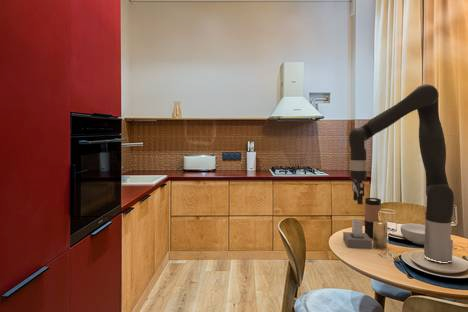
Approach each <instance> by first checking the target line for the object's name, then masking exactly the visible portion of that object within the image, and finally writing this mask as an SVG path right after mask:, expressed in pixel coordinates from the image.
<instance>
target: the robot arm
mask: <svg viewBox="0 0 468 312" xmlns="http://www.w3.org/2000/svg"><path fill="white" fill-rule="evenodd" d="M416 110H417V115H418V120H419V121H418V144H419V150H420V156H421V160H422V164H423V167H424V171H425V195H426V209H425V210H426V211H425V216H424V217H425V220H424V221H425V222H424V225H425V243H424V245H423V247H424V249H423V256H424V255H425V256H426V257H428V258H430V259H433V260H436V261H441V262H448V261H452V262H453V251H454V250H453V249H454V247H453V246H454V245H453V244H454V240H452V237H451V236H452V220H453V219H452V218H453V215H454V203H455V202H454V200H455V197H454V196H455V194H454V192H453V189H451V188H450V185H449V182H448V178H447V174H446V162H447V161H446V160H447V146H446V140H445V139H446V138H445V134H444V130H443V127H442V123H441V120H440V114H439V91H438V89H437V88H436V87H435V86H434V85H432V84H421V85H419V86H418V87H416V88H415V89H414V90H413V91H411V93H409V94H408V95H407V96H406V97H404V98H403V99H401V101H398V102H397V103H396V104H394V105H393V106H391V107H390V108H388V109H386V110H384V111H383V112H381V113H379V114H378V115H376V116H374V117H372V118H371V119H369V120H368V121H367V123H365V124H364V125H361V126H360V127H356V128H355V127H354V128H353V129H352V130H350V132H349V135H348V142H349V148H350V162H349V179H350V180H352V181H351V182H352V187H351V191H352V193H353V199H352V200H353V201H355V202H356V203H357V205H363V203H364V201H363V199H364V198H363V197H364V196H365V183H364V182H363V181H366V180H367V177H368V176H367V173H368V172H367V171H368V170H367V169H368V168H367V167H368V166H367V165H368V163H367V149H366V148H365V142H366V141H368V140H369V139H370V138H373V136H375V135H376V134H378V133H381V132H382V131H384V130H385V129H387V128H389V127H390V126H392V125H394V124H395V123H396V122H398V121H399V120H400V119H402V118H403V117H406V116H407V115H408V114H410V113H413V112H414V111H416Z"/></svg>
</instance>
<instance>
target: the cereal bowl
mask: <svg viewBox="0 0 468 312" xmlns="http://www.w3.org/2000/svg"><path fill="white" fill-rule="evenodd" d="M400 233H401V235H402V236H403V237H404V238H405V239H406V240H408V241H410V242H411V241H412V242H411V243H413V244H417V245H423V246H424V243H425V224H420V223H403V224H401V225H400Z"/></svg>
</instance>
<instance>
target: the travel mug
mask: <svg viewBox="0 0 468 312" xmlns="http://www.w3.org/2000/svg"><path fill="white" fill-rule="evenodd" d="M380 210H381V211H382V199H381V198H376V197H365V200H364V233H366V234H367V235H368V236H369V237H370V239H373V223H374V221H379V219H378V211H380Z"/></svg>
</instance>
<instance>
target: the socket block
mask: <svg viewBox="0 0 468 312" xmlns="http://www.w3.org/2000/svg"><path fill="white" fill-rule="evenodd" d="M342 234H343V235H342V240H343V242H344V244H345V246H346V248H350V249H353V248H354V249H368V250H370V249H371V250H372V249H373V239H372V238H370V237H369V236H368V235H367V234H366V233H365V232H362V238H352V231H351V232H349V231H343V233H342Z"/></svg>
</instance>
